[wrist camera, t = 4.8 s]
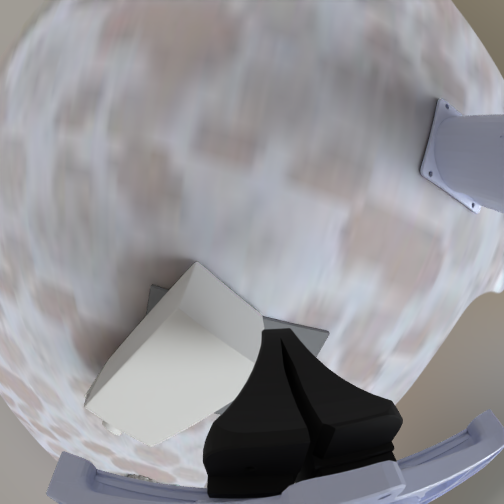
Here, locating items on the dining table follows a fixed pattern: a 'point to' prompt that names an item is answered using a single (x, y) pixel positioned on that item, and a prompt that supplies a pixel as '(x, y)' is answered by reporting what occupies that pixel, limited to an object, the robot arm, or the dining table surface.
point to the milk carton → (179, 361)
